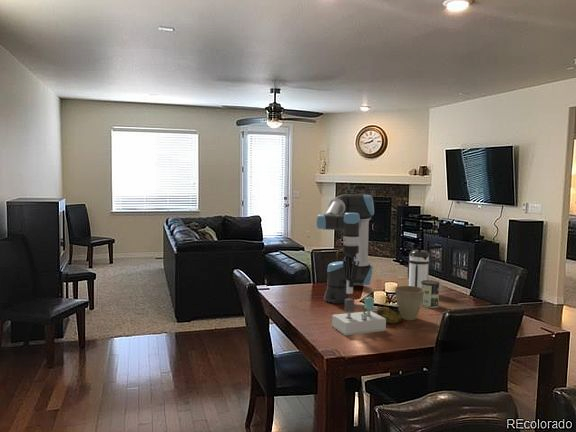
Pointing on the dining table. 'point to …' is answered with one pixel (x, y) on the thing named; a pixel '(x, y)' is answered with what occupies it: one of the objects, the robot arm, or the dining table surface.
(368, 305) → the knob teal
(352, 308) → the knob charcoal
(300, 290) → the dining table surface
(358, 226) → the robot arm
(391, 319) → the potato
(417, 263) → the coffee press
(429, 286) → the coffee can
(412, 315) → the plant pot
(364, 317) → the trim pot
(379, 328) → the panel
